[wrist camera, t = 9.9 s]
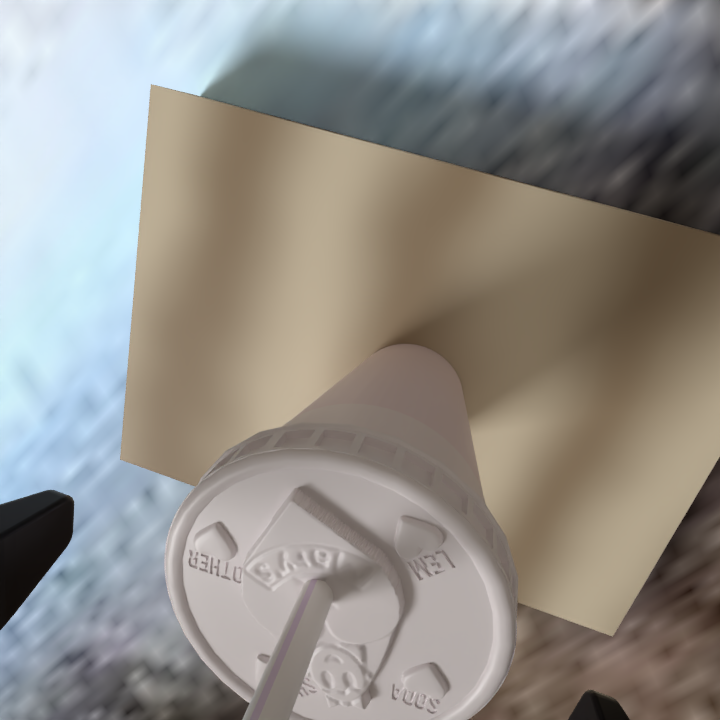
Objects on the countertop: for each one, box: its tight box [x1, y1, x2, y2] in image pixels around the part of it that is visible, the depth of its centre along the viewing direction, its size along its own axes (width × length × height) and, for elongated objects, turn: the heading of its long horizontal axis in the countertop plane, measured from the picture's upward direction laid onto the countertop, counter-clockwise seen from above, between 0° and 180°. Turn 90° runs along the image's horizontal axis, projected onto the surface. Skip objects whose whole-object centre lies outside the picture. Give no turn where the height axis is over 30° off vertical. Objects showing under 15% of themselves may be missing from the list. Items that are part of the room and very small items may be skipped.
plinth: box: [120, 84, 720, 636], centre depth 19 cm, size 20×14×3 cm
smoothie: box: [165, 344, 518, 720], centre depth 12 cm, size 6×6×14 cm
